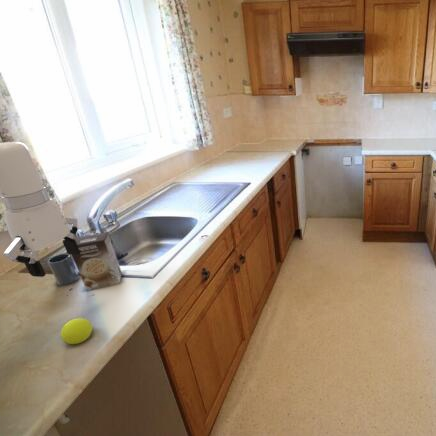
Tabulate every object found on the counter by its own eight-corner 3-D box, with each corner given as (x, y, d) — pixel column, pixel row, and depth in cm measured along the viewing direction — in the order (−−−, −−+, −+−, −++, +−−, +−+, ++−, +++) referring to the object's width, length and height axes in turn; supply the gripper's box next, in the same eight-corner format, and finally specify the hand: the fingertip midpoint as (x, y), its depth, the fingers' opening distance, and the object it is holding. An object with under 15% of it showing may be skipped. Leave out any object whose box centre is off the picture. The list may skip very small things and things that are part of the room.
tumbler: (65, 289, 100) (54, 264, 96) (55, 285, 102) (43, 261, 98) (84, 279, 104) (73, 255, 101) (73, 275, 106) (63, 252, 103)
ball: (75, 352, 76) (66, 333, 74) (61, 345, 79) (51, 326, 76) (100, 335, 81) (92, 316, 79) (86, 328, 84) (77, 310, 81)
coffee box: (86, 293, 97) (66, 247, 91) (91, 281, 103) (72, 237, 96) (120, 285, 101) (103, 239, 94) (123, 274, 106) (107, 231, 99)
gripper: (48, 186, 80) (74, 246, 87) (-31, 215, 64) (8, 285, 72) (74, 186, 79) (98, 247, 86) (0, 215, 63) (37, 286, 71)
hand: (57, 264), depth 79 cm, fingers open, 9 cm apart
